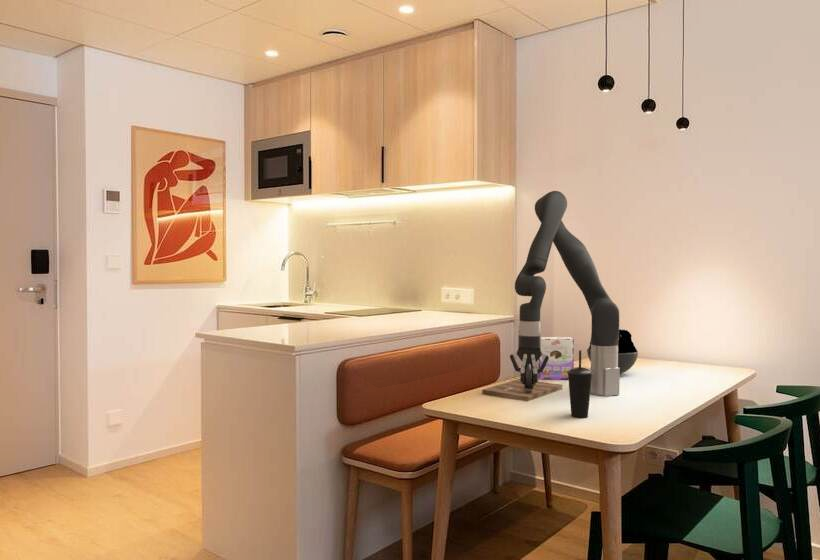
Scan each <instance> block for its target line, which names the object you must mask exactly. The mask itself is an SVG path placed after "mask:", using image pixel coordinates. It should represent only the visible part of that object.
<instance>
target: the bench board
mask: <svg viewBox="0 0 820 560" xmlns="http://www.w3.org/2000/svg"><path fill="white" fill-rule="evenodd" d="M562 389H563V384H558V383H551V382H544V381H538V380H537V383H535V385H534V386H533V391H532V392H530V391H525V388H524V384H522V382H521V381H520V378H517V379H514V380H510V381H508V382H504V383H500V384H496V385H494V386H491V387H487V388H484V389H481V395H486V396H491V397H497V398H498V397H499V398H505V399H510V400H517V401H523V402H530V401H533V400H535V399H538V398H542V397H544V396H546V395H549V394H552V393H555V392H558V391H561V390H562Z"/></svg>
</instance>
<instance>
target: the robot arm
mask: <svg viewBox="0 0 820 560" xmlns="http://www.w3.org/2000/svg"><path fill="white" fill-rule="evenodd" d="M567 208H568V200H567V197H566V196H565V195H564V193H563V192H561V191H559V190H552V191H549V192H547V193H545V194H544V195H543V196H541V197H540V198H538V200H536V202H535V204H534V212H535V215H536V217H537V218H538V220H539V222H540V226H539V228H538V230H537V233H536V234H535V236H534V238H533V239H532V242H531V245H530V247H529V250H528V254H527V257H526V262H525V263H524V265H523V266H522V268H521V270H520V272H519V273H518V274H517V277H516V278H515V281H514V291H515V293H516V294H517V295H518V296H521V297H531V298H530V300H529V302H525V303H522V304H520V306H519V320H518V331H517V332H518V336H517V337H518V341H517V342H518V346H517V348H518V349H517V350H516V352H515V353H511V354H510V355H509V359H510V361H511V364H512V366H513V368H514V371H515V372H519V374H520V378H519V379H520V381H521V382H522V384H524V383H525V364H526V363H532V364H533V372H534V373H533V385H535V383H537V381H538V380H539V379H538V373H540V372H543V370H544V368H545V366H546V363H547V361H548V359H549V356H548V355H544V354H542V352H541V337H542V335H541V334H542V329H541V328H542V327H541V308H542V305H543V302H544V301H543V300H544V297H545V294H546V290H547V284H546V281H545V279H544V278H543V277H542V276H540V275H537V274H541V273H544V272H545V271H546V269H547V265H548V260H549V256H550V252H551V249H552V246H553V245H554V246H555V249H556V250H557V252H558V254H559V256H560V258H561V260H562V262H563V264H564V266H565V268H566V269H567V271H568V273H569V275H570V276H571V278H572V279H573V281H574V283H575V284H576V286H577V287H578V288H579V290H580V291H581V292H582V295H583V296H584V298H585V301H586V303H587V306H588V309H589V312H590V315H591V335H590V341H591V362H590V371H592V372H593V374H592V381H591V390H590V394H592V395H595V396H596V395H597V396H604V397H609V396H612V397H613V396H619V395H620V383H621V382H620V381H621V379H620V375H621V374H620V368H618V340H619V329H620V310H619V309H620V308H619V306H618V305H617V304H616V303H615V302H614V301H613V300H612V299H611V296H610V295H609V294H608V293H607V291H606V290H605V288H604V286H603V285H602V283H601V280H600V277H599V273H598V271H597V269H596V266H595V262H594V261H593V258H592V257H591V255H590V253H589V251H588V248H587V247H586V246H585V244H584V243H583V242H582V241H581V240H580V239H579V238H578V237H576V236H575V235H574V234H573V233H571V232H570V231H569V230H568V228H567V227H566V225H565V224H564V222H563V220H562V219H563V217H564V215H565V213H566V211H567ZM517 357H518V358H519V359H520V361H521V367H519V365H518V362H517ZM540 357H542V361H543V362H542V364H541V367H540V368H539V369H537V361H538V359H539V358H540Z"/></svg>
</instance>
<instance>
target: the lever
mask: <svg viewBox="0 0 820 560" xmlns="http://www.w3.org/2000/svg"><path fill="white" fill-rule="evenodd" d="M524 373H525V383H524V388H525V391H530V392H532V391H533V386H534V385H533V373H534V369H533V364H532V363H526V364H525V369H524Z"/></svg>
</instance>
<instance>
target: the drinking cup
mask: <svg viewBox="0 0 820 560" xmlns="http://www.w3.org/2000/svg"><path fill="white" fill-rule="evenodd" d="M567 373H568V380H567V381H568V390H569V402H570V405H569V406H570V414H571V417H572V418H575V419H588V417H589V407H590V399H591V392H590V390H591V381H592V374H593V372H592V371H591V369H590V368H589V369H588V368H586V367H582V350H578V366H577V367H574V368H572V369H570V370H567Z"/></svg>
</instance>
